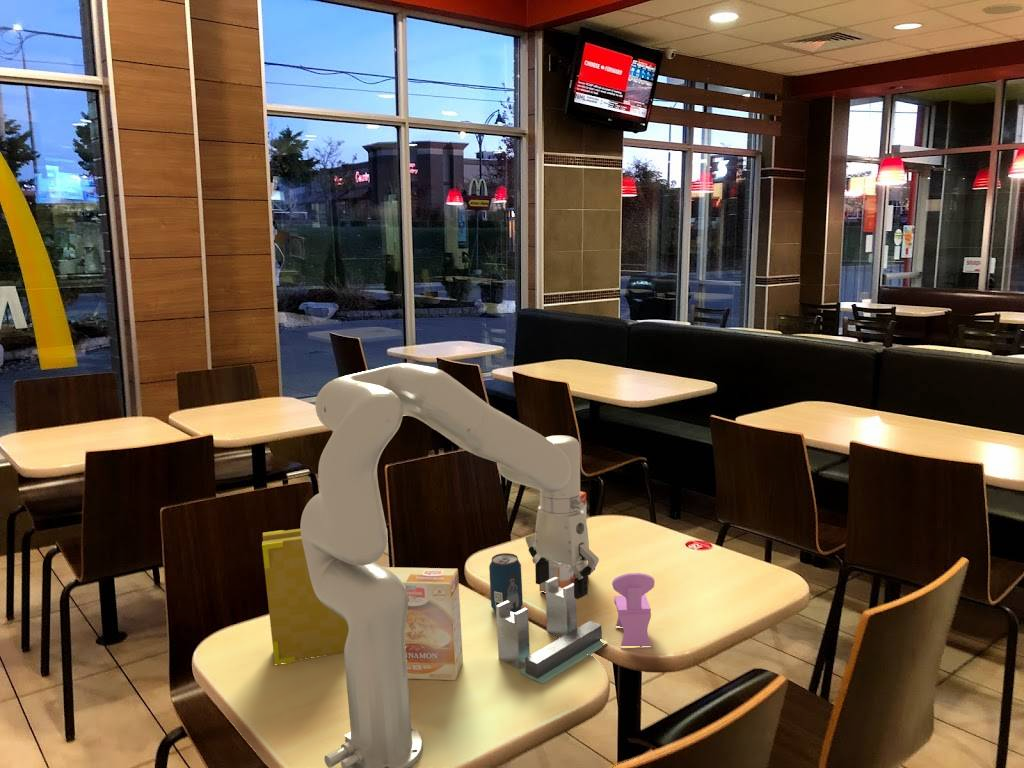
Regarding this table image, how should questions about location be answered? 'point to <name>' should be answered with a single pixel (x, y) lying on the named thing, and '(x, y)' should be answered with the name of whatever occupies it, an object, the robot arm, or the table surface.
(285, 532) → the book
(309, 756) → the table surface
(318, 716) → the table surface
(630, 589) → the toy chair
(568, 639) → the rail
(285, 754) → the table surface
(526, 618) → the post near arm
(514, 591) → the soda can
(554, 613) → the post far
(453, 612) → the coffeecake box
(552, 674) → the mat
